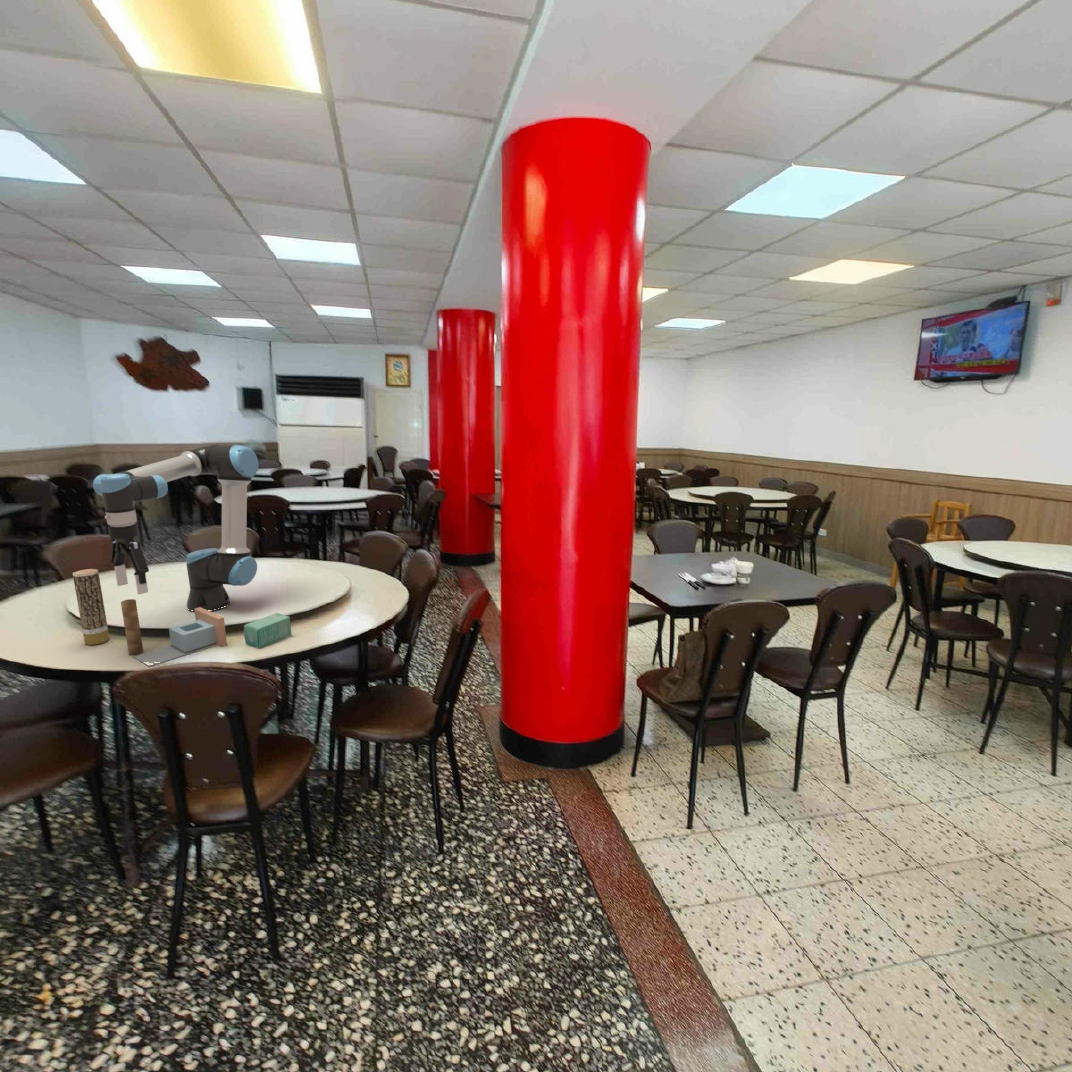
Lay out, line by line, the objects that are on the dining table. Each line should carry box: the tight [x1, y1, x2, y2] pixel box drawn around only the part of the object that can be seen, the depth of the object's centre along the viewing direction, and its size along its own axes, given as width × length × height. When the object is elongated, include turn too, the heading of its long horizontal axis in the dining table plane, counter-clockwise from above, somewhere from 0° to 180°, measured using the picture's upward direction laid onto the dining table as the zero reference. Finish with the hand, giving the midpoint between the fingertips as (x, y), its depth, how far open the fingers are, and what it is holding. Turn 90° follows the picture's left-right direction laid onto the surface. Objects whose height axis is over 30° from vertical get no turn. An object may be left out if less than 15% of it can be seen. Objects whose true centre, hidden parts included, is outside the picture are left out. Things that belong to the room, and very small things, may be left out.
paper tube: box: [72, 568, 110, 646], centre depth 196 cm, size 7×7×25 cm
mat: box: [133, 643, 218, 668], centre depth 193 cm, size 23×11×1 cm, turn 145°
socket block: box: [168, 619, 216, 652], centre depth 196 cm, size 10×10×6 cm
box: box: [243, 612, 292, 649], centre depth 202 cm, size 7×14×8 cm, turn 152°
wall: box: [194, 607, 228, 648], centre depth 201 cm, size 2×16×10 cm, turn 55°
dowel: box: [120, 598, 144, 657], centre depth 189 cm, size 4×4×18 cm
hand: (132, 589), depth 185 cm, fingers open, 13 cm apart
